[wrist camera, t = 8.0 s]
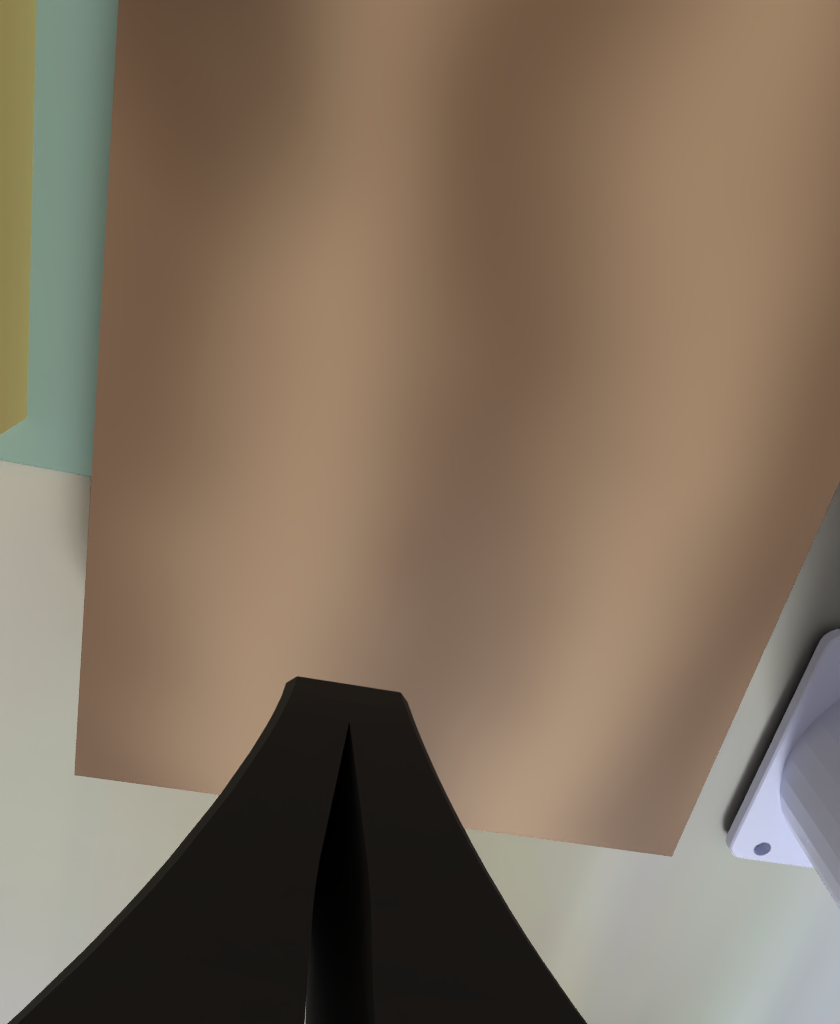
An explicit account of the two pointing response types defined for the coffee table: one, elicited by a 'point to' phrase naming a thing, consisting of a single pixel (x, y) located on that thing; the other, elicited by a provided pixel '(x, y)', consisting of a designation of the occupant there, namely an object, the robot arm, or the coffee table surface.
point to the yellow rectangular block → (15, 202)
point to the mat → (67, 232)
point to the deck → (462, 385)
